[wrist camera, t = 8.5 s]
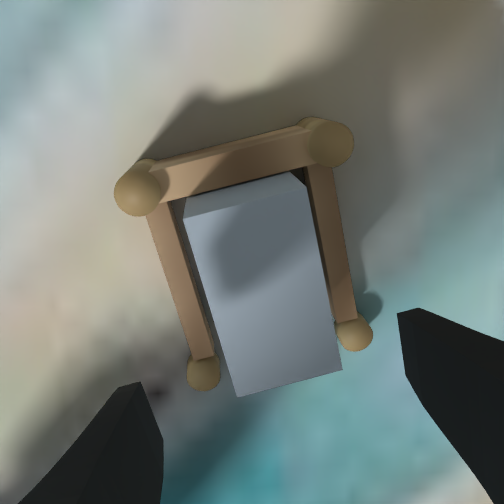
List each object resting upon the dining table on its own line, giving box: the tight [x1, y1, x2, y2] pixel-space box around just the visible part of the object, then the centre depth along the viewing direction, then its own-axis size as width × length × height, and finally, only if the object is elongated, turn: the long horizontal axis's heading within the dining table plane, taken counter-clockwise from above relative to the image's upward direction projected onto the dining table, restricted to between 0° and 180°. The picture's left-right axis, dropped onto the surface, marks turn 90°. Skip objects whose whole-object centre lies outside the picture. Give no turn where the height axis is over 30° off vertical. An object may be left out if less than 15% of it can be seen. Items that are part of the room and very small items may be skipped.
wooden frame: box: [114, 117, 373, 391], centre depth 19 cm, size 9×11×4 cm
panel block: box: [183, 171, 343, 398], centre depth 18 cm, size 4×7×6 cm, turn 13°
